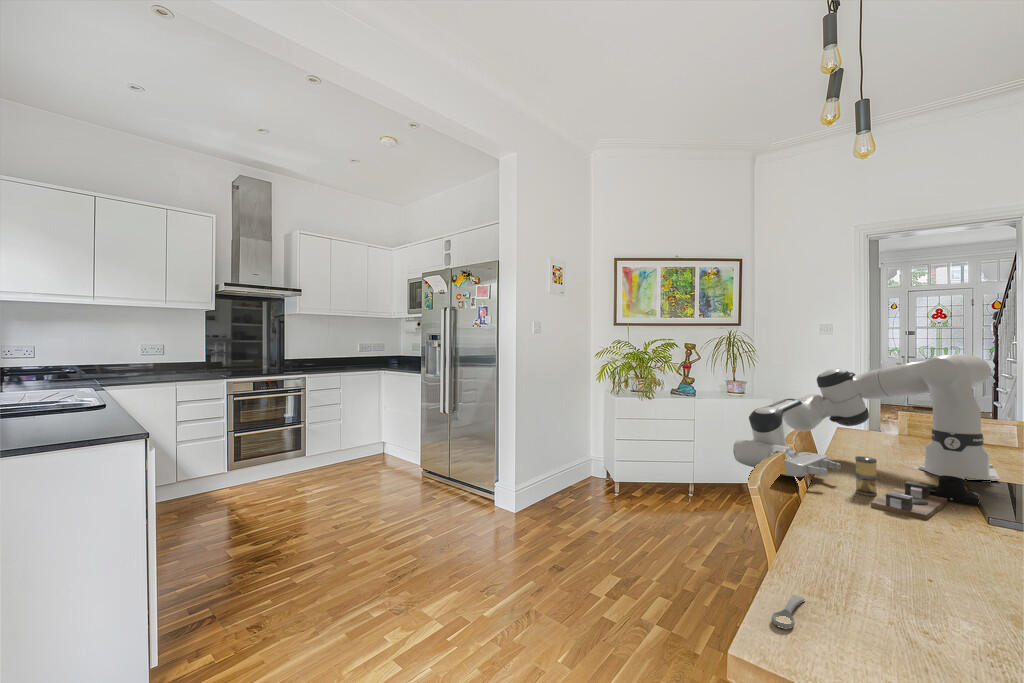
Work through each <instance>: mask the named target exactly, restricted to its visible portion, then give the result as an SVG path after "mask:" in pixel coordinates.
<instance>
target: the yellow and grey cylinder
mask: <svg viewBox="0 0 1024 683" xmlns="http://www.w3.org/2000/svg"><path fill="white" fill-rule="evenodd" d="M854 460H855V493H856V494H858V495H861V496H866V497H877V496H878V492H877V480H878V475H877V462H878V461H877V460H878V459H877V458H875V457H869V456H861V455H860V456H859V455H858V456H855V457H854Z"/></svg>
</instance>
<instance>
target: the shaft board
mask: <svg viewBox="0 0 1024 683" xmlns="http://www.w3.org/2000/svg"><path fill="white" fill-rule="evenodd" d="M920 483H921V482H914V481H909V480H908V481H906V482H905V483H904V489H900V488H896V487H894V488H893V489H891V490H889V491H888V492H886V493H885V494H884V493H883V495H881V496H878V498H876V499H874V500H873V501H871V502H870V507H871V508H875V509H879V510H883V511H888V512H892V513H895V514H898V515H899V514H900V515H904V516H908V517H913V518H916V519H917V518H918V519H921V520H925V521H927V520H929V519H930V518H931V517H932V516H933V515H934V514H936V513H937V512H938V511H939V510H941V509H942V508H943V507H945V506H946V505H947V504H948V502H947V498H942V497H937V496H932V495H930V485H926V484H927V483H924V484H920Z"/></svg>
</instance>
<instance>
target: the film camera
mask: <svg viewBox="0 0 1024 683" xmlns="http://www.w3.org/2000/svg"><path fill="white" fill-rule="evenodd" d="M919 483H920V484H926V485H930V495H932V496H937V497H942V498H947V503H952V504H959V505H966V506H969V507H970V506H971V507H977V506H978V502H979V500H980V494H978V493H977V491H975V490H972V489H966V480H964V479H962V478H958V477H954V476H939V475H938V484H931V483H925V482H919ZM978 497H979V498H978ZM978 507H979V506H978Z"/></svg>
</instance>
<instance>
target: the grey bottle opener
mask: <svg viewBox="0 0 1024 683" xmlns="http://www.w3.org/2000/svg"><path fill="white" fill-rule="evenodd" d="M804 600H805V601H806V599H805V597H803V598H802V596H800V597H799V595H797V594H792V595H791V597H790V599H788V601H787V603H786V604H785V607H784V608H783V609H782V610H780V611H777V612H774V613H772V615H771V621H772V623H773V625H775V624H776V625H777V626H780V627H783V628H790V627H792V626H793V627H794V626H795V619H794V617H793V615H792V613H793V611H794V609H795V608H796V607H797V606H799V605H801V604H800V603H801V602H803V601H804ZM779 616H786V617H788V618H790V620H791V621H792V622H791V624H784V623H780V622H778V621H776V617H779ZM776 625H775V626H776ZM777 626H776V627H777ZM793 627H792V628H793Z"/></svg>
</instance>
